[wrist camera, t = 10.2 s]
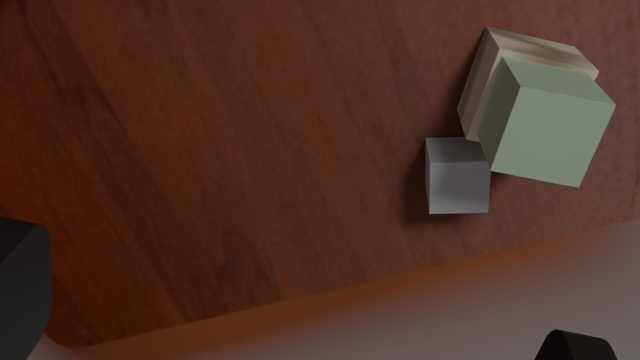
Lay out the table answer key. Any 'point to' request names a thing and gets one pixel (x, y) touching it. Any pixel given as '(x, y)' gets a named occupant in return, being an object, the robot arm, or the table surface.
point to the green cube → (543, 122)
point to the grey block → (456, 176)
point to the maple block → (514, 47)
